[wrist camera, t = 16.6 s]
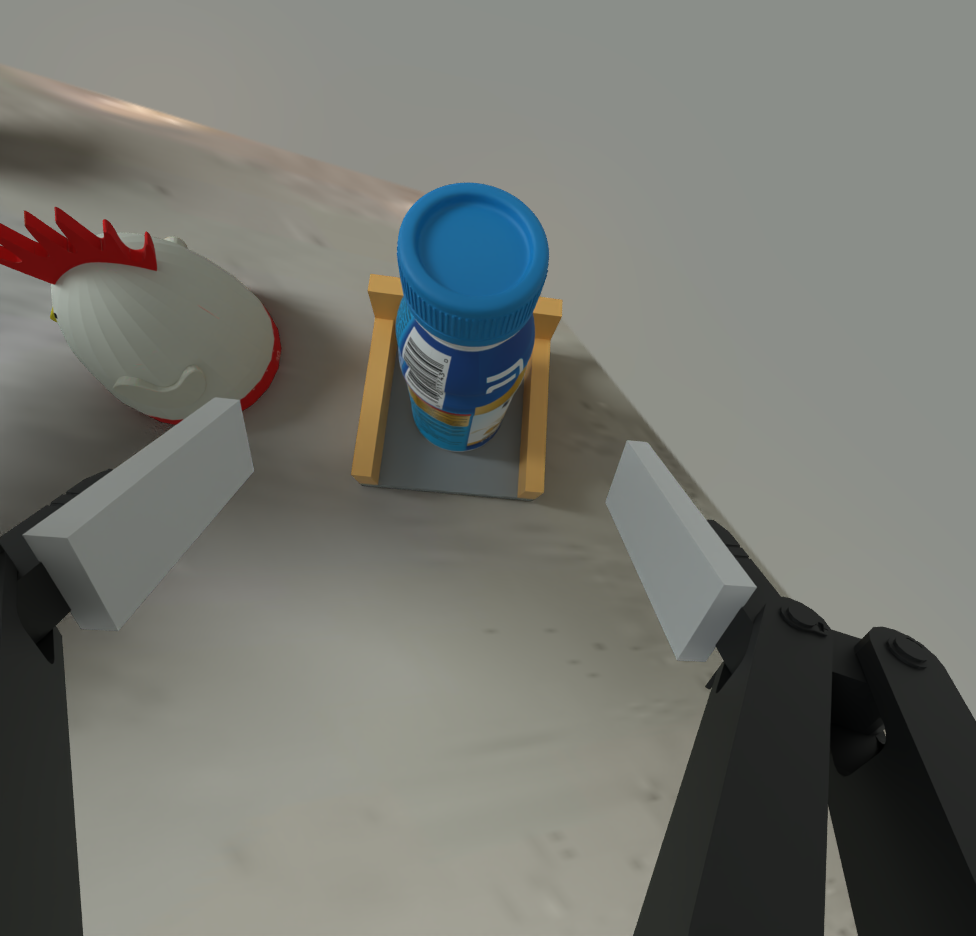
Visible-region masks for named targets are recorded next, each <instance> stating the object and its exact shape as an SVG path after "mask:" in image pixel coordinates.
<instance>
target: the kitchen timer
mask: <svg viewBox="0 0 976 936" xmlns="http://www.w3.org/2000/svg"><path fill="white" fill-rule="evenodd" d="M24 219H25V227H26V228H27V230H28V231H29V232H30V233H31V235H32V236H33V237H34V238H35V239H36V240H37V241H38V242H39V243H38V242H35V241H33V240H31V239H29V238H27V237H25V236H23V235H21V234H20V233H18V232H16V231H14V230H12V229H10V228H8V227H7V226H5V225H3V224H1V223H0V244H1V245H2V246H0V264H2V265H5V266H7V267H10V268H12V269H15V270H17V271H20V272H22V273H25V274H28V275H30V276H33V277H35V278H38V279H41V280H43V281H46V282H48V283H51V295H52V306H53V307H52V311H51V315H50V318H51V319H52V320H53V321H55V322H57V323H58V324H59V326H60V328H61V331H62V333H63V335H64V337H65V339H66V341H67V343H68V345H69V347H70V348H71V350H72V351H73V353H74V354H75V355H76V356H77V357H78V359H79V360H80V361H81V362H82V363H83V364H84V366H85V367H86V368H87V369H88V370H89V371H90V372H91V373H92V374H93V375H94V376H95V377H96V378H97V379H98V380H99V381H100V382H101V383H102V384H103V385H104V386H105V387H106V388H107V389H108V390H109V391H110V392H111V393H112V394H113V395H114V396H115V397H116V398H117V399H119V400H120V401H121V402H123V403H124V404H126V405H128V406H130V407H132V408H134V409H136V410H138V411H140V412H142V413H144V414H146V415H148V416H150V417H152V418H154V419H156V420H158V421H160V422H164V423H169V424H175V425H177V424H178V423H180V422H181V421H182V420H184V419H185V418H187V417H188V416H189V415H191V414H192V413H194V412H195V411H196V410H198V409H199V408H201V407H202V406H203V405H205V404H206V403H208V402H209V401H210V400H212V399H213V398H215V397H218V398H227V399H237V400H240V404H241V409H242V411H243V410H245V409H246V408H248V407H249V406H251V405H253V404H254V403H255V402H256V401H257V400H258V398H259V397H260V396H261V395H262V394H263V393H264V392H265V391H266V390H267V389H268V388H269V386H270V384H271V382H272V380H273V378H274V376H275V374H276V372H277V370H278V367H279V361H280V354H281V344H280V338H279V333H278V329H277V327H276V325H275V323H274V321H273V320H272V318H271V316H270V314H269V312H268V311H267V310H266V308H265V307H264V305H263V304H262V302H261V301H260V300H259V299H258V298H257V297H256V296H255V295H254V294H253V293H252V292H251V291H250V290H248V289H247V288H246V287H245V286H244V285H243V284H242V283H241V282H240V281H239V280H238V279H236V278H235V277H234V276H233V275H231V274H230V273H228V272H227V271H225V270H224V269H222V268H221V267H219V266H218V265H216V264H215V263H213V262H212V261H210V260H208V259H207V258H205V257H203V256H201V255H199V254H197V253H195V252H193V251H191V250H189V249H188V248H187V245H186V244H185V242H184V241H183V240H181V239H180V238H178V237H174V236H170V237H167V238H165V239H160V238H155V237H151V236H150V234H149V233H148V232H145V235H141V234H136V233H117V232H116V231H115V229H114V228H113V226H112V225H111V223H110V222H109V221H108V220H105V219H104V220H103V231H104V233H103V234H99V235H94V234H93V233H92V232H90V231H89V230H88V229H86V228H85V227H84V226H82V225H81V224H80V223H78V222H77V221H76V220H74V219H73V218H72V217H71V216H69V215H68V214H67V213H65V212H64V211H62V210H61V209H59V208H58V207H55V221H56V224H57V225H58V227H59V228H60V229H61V231H62V232H63V233H64V235H65V236H66V237H67V238H68V239H67V238H66V237H64V236H62V235H61V234H59V233H58V232H56V231H55V230H53V229H52V228H50V227H49V226H48V225H46V224H45V223H43V222H42V221H41V220H39V219H38V218H36V217H35V216H33V215H32V214H30V213H29V212H27V211H24ZM3 246H4V247H3Z"/></svg>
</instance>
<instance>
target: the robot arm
mask: <svg viewBox="0 0 976 936" xmlns="http://www.w3.org/2000/svg"><path fill="white" fill-rule="evenodd" d="M253 472H254V467H253V462H252V457H251V452H250V447H249V443H248V438H247V433H246V428H245V423H244V418H243V413H242V409H241V404H240V400H237V399H227V398H218V397H215V398H213V399H212V400H210V401H209V402H208V403H206V404H205V405H203V406H202V407H201V408H199V409H198V410H196V411H195V412H194V413H192V414H191V415H189V416H188V417H187V418H185V419H184V420H182V421H181V422H180V423H178V424H177V425H175V426H174V427H173V428H171V429H170V430H168V431H167V432H166V433H164V434H163V435H161V436H160V437H159V438H157V439H156V440H154V441H153V442H152V443H150V444H149V445H147V446H146V447H145V448H143V449H142V450H140V451H139V452H138V453H136V454H135V455H133V456H132V457H131V458H129V459H128V460H126V461H125V462H124V463H122V464H121V465H119V466H118V467H117V468H115V469H108V470H106V471H103V472H101V473H99V474H96V475H94V476H91V477H89V478H87V479H84V480H83V481H81V482H80V483H79V484H77V485H76V486H74V487H73V488H71V489H70V490H68V491H67V492H66V495H61V496H60V497H58V498H57V499H55V500H54V501H52V502H51V505H50V506H48V505H46V506H45V507H44V508H42V509H41V510H39V511H38V512H36V513H35V514H33V515H32V516H30V517H29V518H28V519H26V520H25V521H23V522H22V523H20V524H19V525H17V526H16V527H14V528H13V529H12V530H10V531H9V532H7V533H6V534H4V535H3V536H1V537H0V936H83V926H82V912H81V898H80V884H79V870H78V856H77V842H76V828H75V813H74V799H73V785H72V771H71V757H70V743H69V729H68V715H67V701H66V687H65V672H64V658H63V644H62V635H61V634H60V632H59V630H58V628H57V627H56V625H57V624H58V623H59V622H60V621H61V620H62V619H63V618H64V617H65V616H66V615H67V614H68V613H69V612H71V614H72V615H73V617H74V619H75V620H76V622H77V623H78V625H79V627H80V628H81V629H89V630H108V631H119V630H120V628H121V627H122V626H123V625H124V624H125V623H126V621H127V620H128V619H129V618H130V617H131V616H132V614H133V613H134V612H135V611H136V610H137V608H138V607H139V606H140V605H141V604H142V603H143V601H144V600H145V599H146V598H147V597H148V596H149V594H150V593H151V592H152V591H153V590H154V588H155V587H156V586H157V585H158V584H159V583H160V581H161V580H162V579H163V578H164V577H165V575H166V574H167V573H168V572H169V571H170V570H171V568H172V567H173V566H174V565H175V564H176V563H177V561H178V560H179V559H180V558H181V557H182V555H183V554H184V553H185V552H186V551H187V550H188V548H189V547H190V546H191V545H192V544H193V542H194V541H195V540H196V539H197V538H198V537H199V535H200V534H201V533H202V532H203V531H204V530H205V528H206V527H207V526H208V525H209V524H210V522H211V521H212V520H213V519H214V518H215V517H216V515H217V514H218V513H219V512H220V511H221V510H222V508H223V507H224V506H225V505H226V504H227V502H228V501H229V500H230V499H231V498H232V497H233V495H234V494H235V493H236V492H237V491H238V489H239V488H240V487H241V486H242V485H243V484H244V482H245V481H246V480H247V479H248V478H249V477H250V475H251V474H252V473H253ZM605 503H606V505H607V507H608V509H609V511H610V514H611V516H612V518H613V520H614V522H615V525H616V527H617V529H618V531H619V533H620V536H621V538H622V540H623V542H624V544H625V547H626V549H627V551H628V553H629V555H630V558H631V560H632V562H633V564H634V567H635V569H636V571H637V573H638V575H639V578H640V580H641V582H642V584H643V586H644V589H645V591H646V593H647V595H648V597H649V600H650V602H651V604H652V606H653V608H654V611H655V613H656V615H657V617H658V620H659V622H660V624H661V626H662V628H663V631H664V633H665V635H666V637H667V639H668V642H669V644H670V646H671V648H672V650H673V653H674V655H675V657H676V659H677V660H681V661H700V662H706V660H707V659H708V657H709V656H710V655H711V653H712V652H713V650H714V649H715V647H716V648H717V649H718V651H719V653H720V655H721V656H722V658H723V660H724V661H723V663H722V664H721V665H720V667H719V668H718V670H717V671H716V672H715V674H714V675H713V676H712V678H711V679H710V681H709V682H708V683H707V685H706V686H705V687H706V688H708V689H709V690H710V689H711V687H712V689H711V692H710V695H709V698H708V701H707V705H706V708H705V711H704V714H703V717H702V720H701V723H700V727H699V730H698V733H697V736H696V739H695V742H694V745H693V749H692V752H691V755H690V758H689V761H688V764H687V768H686V771H685V774H684V777H683V780H682V783H681V786H680V790H679V793H678V796H677V799H676V802H675V805H674V808H673V812H672V815H671V818H670V821H669V824H668V827H667V831H666V834H665V837H664V840H663V843H662V846H661V849H660V853H659V856H658V859H657V862H656V865H655V868H654V871H653V875H652V878H651V881H650V884H649V887H648V890H647V893H646V897H645V900H644V903H643V906H642V909H641V912H640V916H639V919H638V922H637V925H636V928H635V931H634V934H633V936H824V914H825V882H826V851H827V819H828V806H829V811H830V815H831V820H832V824H833V828H834V833H835V837H836V841H837V846H838V850H839V855H840V859H841V863H842V868H843V872H844V876H845V881H846V885H847V889H848V894H849V898H850V903H851V907H852V911H853V916H854V920H855V924H856V929H857V933H858V936H976V721H975V719H974V717H973V716H972V714H971V712H970V710H969V709H968V707H967V705H966V704H965V702H964V700H963V699H962V697H961V695H960V693H959V691H958V690H957V688H956V686H955V685H954V683H953V681H952V680H951V678H950V676H949V674H948V673H947V671H946V669H945V667H944V666H943V665H942V664H941V663H940V661H939V660H938V659H937V657H936V656H935V655H934V654H932V653H931V652H930V651H929V650H928V649H927V648H926V647H924V645H922V644H921V643H919V642H918V641H915V639H913V638H911V637H909V636H907V635H905V634H902V633H900V632H898V631H896V630H893V629H889V628H886V627H873V628H872V629H871V630H870V631H869V632H868V633H867V634H866V635H865V636H864V637H863V638H862V639H860V638H856V637H853V636H850V635H847V634H843V633H841V632H837V631H834V630H831V629H830V627H829V626H828V625H827V623H826V622H825V621H824V619H823V618H821V617H820V616H819V615H818V614H817V613H816V612H814V611H813V610H812V609H810V608H809V607H807V606H805V605H804V604H802V603H800V602H798V601H795V600H793V599H790V598H786V597H781V596H780V595H779V594H778V592H777V591H776V590H775V589H774V587H773V586H772V585H771V584H770V582H769V581H768V580H767V579H766V577H765V576H764V575H763V574H762V572H761V571H760V570H759V569H758V567H757V566H756V565H755V564H754V562H753V561H752V560H751V559H749V558H748V557H749V556H748V555H747V554H746V552H745V551H744V550H743V549H742V548H740V545H739V544H738V542H737V541H736V540H735V539H734V537H733V536H732V535H731V534H730V532H729V531H727V530H726V529H725V528H723V527H722V526H721V525H719V524H718V523H717V522H716V521H714V520H706V519H705V518H704V516H703V515H702V514H701V512H700V511H699V510H698V508H697V507H696V506H695V504H694V503H693V502H692V500H691V499H690V498H689V496H688V495H687V494H686V492H685V491H684V490H683V489H682V487H681V486H680V485H679V483H678V482H677V481H676V479H675V478H674V477H673V475H672V474H671V473H670V471H669V470H668V469H667V467H666V466H665V465H664V463H663V462H662V461H661V459H660V458H659V457H658V455H657V454H656V453H655V451H654V450H653V449H652V447H651V446H650V445H649V443H648V442H640V441H631V440H627V442H626V444H625V447H624V450H623V453H622V456H621V459H620V462H619V464H618V467H617V470H616V473H615V476H614V479H613V481H612V484H611V487H610V490H609V493H608V496H607V499H606V501H605ZM884 729H885V731H886V736H885V734H884V731H883V730H884Z"/></svg>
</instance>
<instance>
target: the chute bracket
mask: <svg viewBox="0 0 976 936" xmlns="http://www.w3.org/2000/svg"><path fill="white" fill-rule="evenodd" d="M368 294H369V297H370V301H371V305H372V308H373V312H374V315H375V322H374V329H373V335H372V342H371V348H370V355H369V361H368V367H367V374H366V380H365V387H364V393H363V400H362V406H361V413H360V419H359V425H358V432H357V438H356V445H355V451H354V458H353V464H352V471H351V476H353V477H354V478H355V479H356V480H357V481H358V482H359V483H360V484H361V485H362V486H373V487H384V488H395V489H406V490H417V491H428V492H439V493H450V494H461V495H472V496H483V497H494V498H505V499H516V500H527V501H532V500H534V499H535V498H537V497H538V496H540V495H541V494H543V493H544V477H545V453H546V430H547V407H548V384H549V361H550V340H551V338H552V336H553V334H554V332H555V330H556V327H557V325H558V323H559V321H560V319H561V317H562V300H559V299H552V298H545V297H539V299H538V302H537V304H536V306H535V309H534V311H533V317H534V323H535V341H534V347H533V351H532V354H531V357H530V359H529V361H528V364H527V369H526V372H525V375H524V378H523V380H522V382H521V384H520V386H519V388H518V389H517V391H516V392H515V393H514V395H513V397H512V399H511V402H510V404H509V406H508V408H507V411H506V413H505V415H504V418H503V421H502V424H501V426H500V428H499V430H498V431H497V433H496V434H495V436H494V437H493V438H492V439H491V440H490V441H488V442H487V443H486V444H484V445H483V446H481V447H479V448H476V449H474V450H470V451H464V452H454V451H448V450H445V449H442V448H439V447H437V446H435V445H434V444H432V443H431V442H429V441H428V440H427V439H426V438H425V437H424V436H423V435H422V434H421V432H420V431H419V429H418V428H417V426H416V424H415V421H414V418H413V414H412V406H411V400H410V396H409V391H408V387H407V382H406V380H405V378H404V376H403V374H402V371H401V367H400V363H399V354H398V343H397V338H396V318H397V313H398V309H399V306H400V303H401V300H402V298H403V296H404V295H403V290H402V284H401V279H400V278H397V277H390V276H383V275H375V274H370V280H369V286H368Z"/></svg>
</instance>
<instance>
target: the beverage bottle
mask: <svg viewBox="0 0 976 936" xmlns="http://www.w3.org/2000/svg"><path fill="white" fill-rule="evenodd" d="M397 243H398V246H397V260H398V266H399V273H400V279H401V284H402V290H403V295H404V296H403V298H402V300H401V303H400V306H399V309H398V313H397V318H396V338H397V343H398V354H399V363H400V367H401V371H402V374H403V376H404V378H405V380H406V382H407V387H408V391H409V396H410V400H411V406H412V414H413V418H414V421H415V424H416V426H417V428H418V429H419V431H420V432H421V434H422V435H423V436H424V437H425V438H426V439H427V440H428V441H429V442H431V443H432V444H434V445H435V446H437V447H439V448H442V449H445V450H448V451H454V452H464V451H470V450H474V449H476V448H479V447H481V446H483V445H484V444H486V443H487V442H488V441H490V440H491V439H492V438H493V437H494V436H495V434H496V433H497V431H498V430H499V428H500V426H501V424H502V421H503V418H504V415H505V413H506V411H507V408H508V406H509V404H510V402H511V399H512V397H513V395H514V393H515V392H516V391H517V389H518V388H519V386H520V384H521V382H522V380H523V378H524V375H525V372H526V369H527V364H528V361H529V359H530V357H531V354H532V351H533V347H534V341H535V323H534V317H533V311H534V309H535V306H536V304H537V302H538V299H539V296H540V294H541V291H542V287H543V285H544V282H545V279H546V276H547V272H548V270H547V268H548V260H549V248H548V242H547V238H546V235H545V232H544V229H543V227H542V225H541V223H540V222H539V220H538V218H537V217H536V216H535V214H534V213H533V212H532V211H531V210H530V209H529V208H528V207H527V206H526V205H525V204H524V203H523V202H522V201H520V200H519V199H518V198H516V197H515V196H513V195H511V194H509V193H508V192H506V191H503V190H501V189H499V188H496V187H493V186H489V185H485V184H479V183H456V184H450V185H446V186H443V187H440V188H437V189H435V190H433V191H431V192H429V193H427V194H426V195H424V196H423V197H421V198H420V199H419V200H418V201H417V202H416V203H415V204H414V205H413V206H412V207H411V208H410V209H409V211H408V212H407V214H406V216H405V217H404V219H403V222H402V224H401V227H400V231H399V236H398V242H397Z"/></svg>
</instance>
